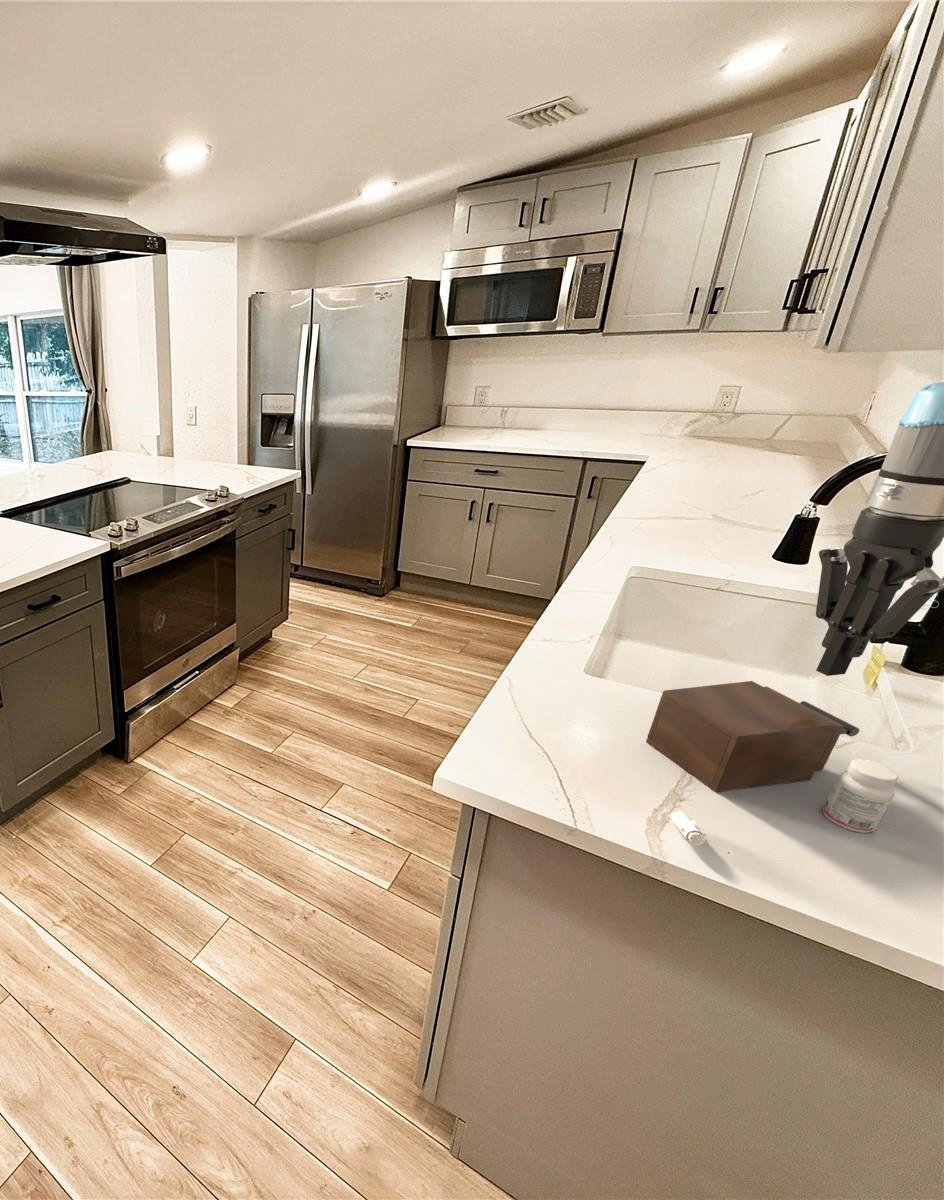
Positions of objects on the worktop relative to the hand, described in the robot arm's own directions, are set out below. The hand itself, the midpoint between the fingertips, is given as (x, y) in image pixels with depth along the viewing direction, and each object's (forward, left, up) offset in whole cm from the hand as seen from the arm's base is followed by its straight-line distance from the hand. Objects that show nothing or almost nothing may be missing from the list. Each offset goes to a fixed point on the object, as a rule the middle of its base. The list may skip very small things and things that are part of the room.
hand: (830, 672), depth 87 cm
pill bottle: (+7, +13, -14) cm, 21 cm away
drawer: (+6, 0, -13) cm, 14 cm away
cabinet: (+11, 0, -14) cm, 18 cm away
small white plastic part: (+29, +12, -14) cm, 35 cm away
